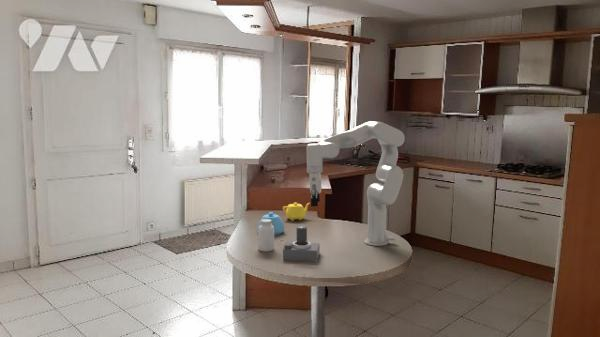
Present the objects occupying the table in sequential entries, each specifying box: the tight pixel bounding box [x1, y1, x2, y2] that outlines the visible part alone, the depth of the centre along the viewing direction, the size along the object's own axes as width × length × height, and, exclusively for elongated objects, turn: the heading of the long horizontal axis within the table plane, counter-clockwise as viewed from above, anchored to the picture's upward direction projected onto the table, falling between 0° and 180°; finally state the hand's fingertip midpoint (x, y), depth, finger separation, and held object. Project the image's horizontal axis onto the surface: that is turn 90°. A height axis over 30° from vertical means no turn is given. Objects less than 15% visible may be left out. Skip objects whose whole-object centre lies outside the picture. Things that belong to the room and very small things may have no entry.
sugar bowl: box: [257, 211, 285, 236], centre depth 263 cm, size 15×15×12 cm
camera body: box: [282, 240, 321, 262], centre depth 222 cm, size 16×12×7 cm
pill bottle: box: [257, 219, 275, 252], centre depth 232 cm, size 8×8×15 cm
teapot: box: [282, 202, 311, 222], centre depth 294 cm, size 18×11×11 cm, turn 105°
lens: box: [295, 225, 308, 245], centre depth 221 cm, size 5×5×9 cm
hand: (315, 203), depth 226 cm, fingers open, 9 cm apart
